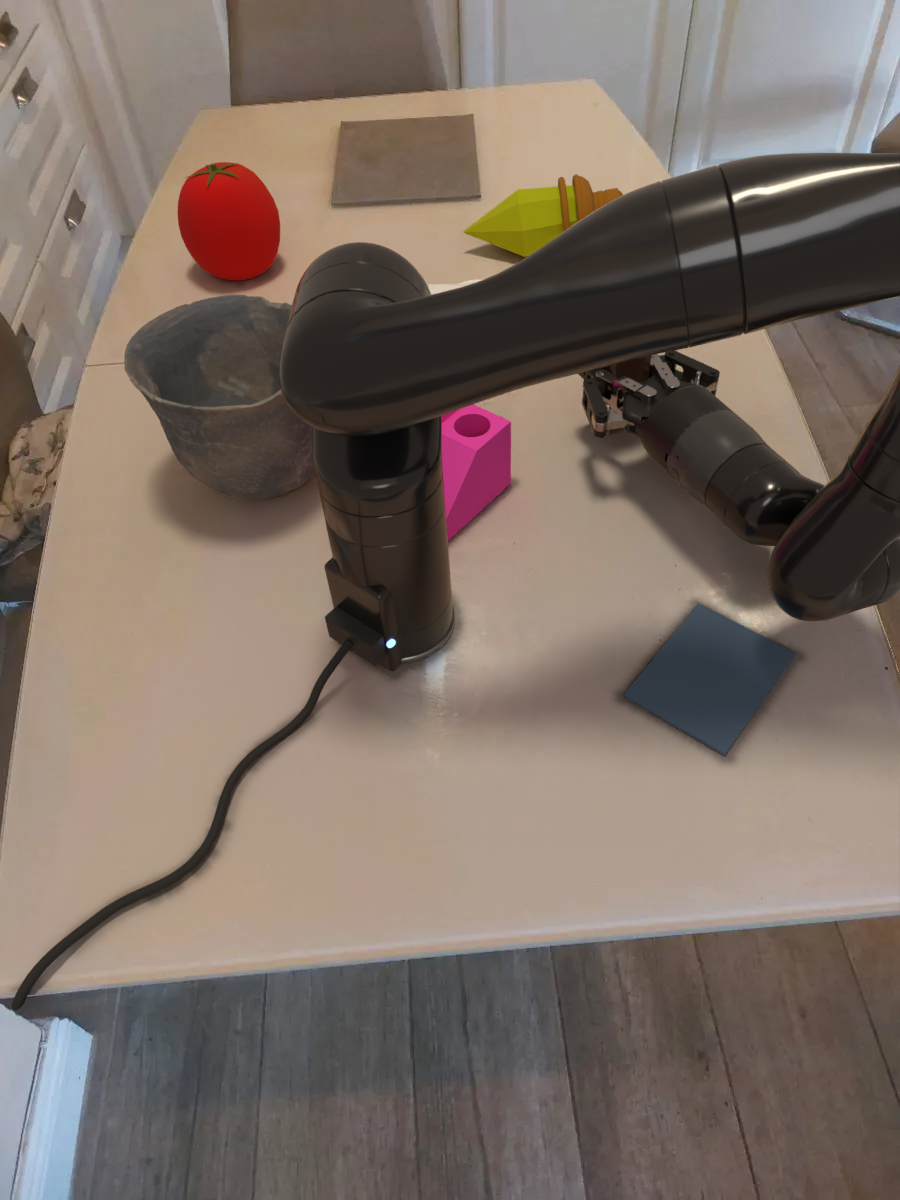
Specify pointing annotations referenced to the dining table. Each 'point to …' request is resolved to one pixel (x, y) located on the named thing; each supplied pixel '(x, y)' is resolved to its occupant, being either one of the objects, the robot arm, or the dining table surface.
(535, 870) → the dining table surface
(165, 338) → the grey deep bowl
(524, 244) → the plumb bob
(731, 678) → the blue mat
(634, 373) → the walnut block
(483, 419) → the bracket
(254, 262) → the tomato
